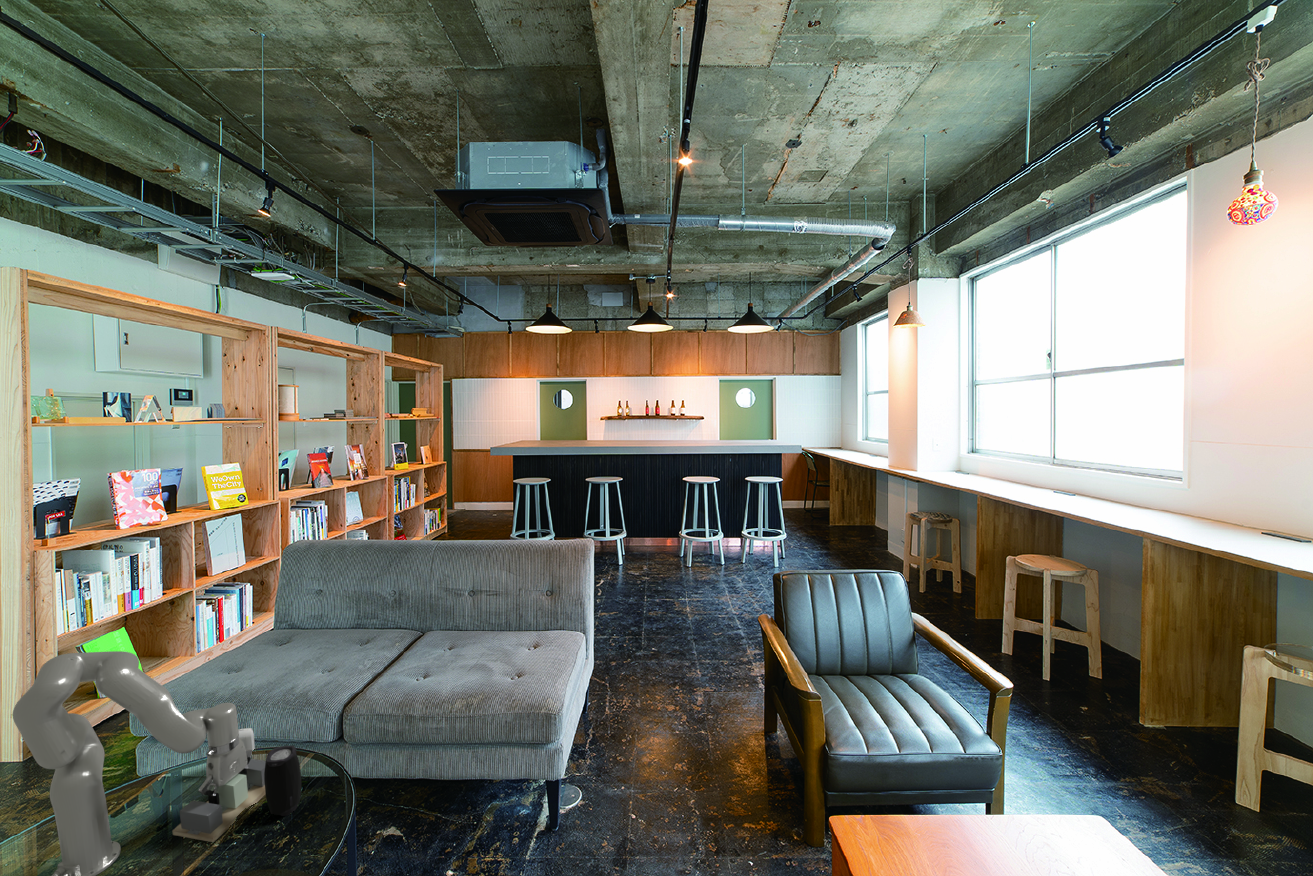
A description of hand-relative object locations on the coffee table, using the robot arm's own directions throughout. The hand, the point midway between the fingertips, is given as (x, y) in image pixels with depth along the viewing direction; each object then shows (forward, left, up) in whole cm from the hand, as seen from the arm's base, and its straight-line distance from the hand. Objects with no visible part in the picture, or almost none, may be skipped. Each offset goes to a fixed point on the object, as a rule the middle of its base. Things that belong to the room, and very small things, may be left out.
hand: (228, 792), depth 171 cm
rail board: (0, 0, -5) cm, 5 cm away
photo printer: (+16, +14, -5) cm, 22 cm away
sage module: (0, 0, -3) cm, 3 cm away
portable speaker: (+2, -18, -5) cm, 18 cm away
